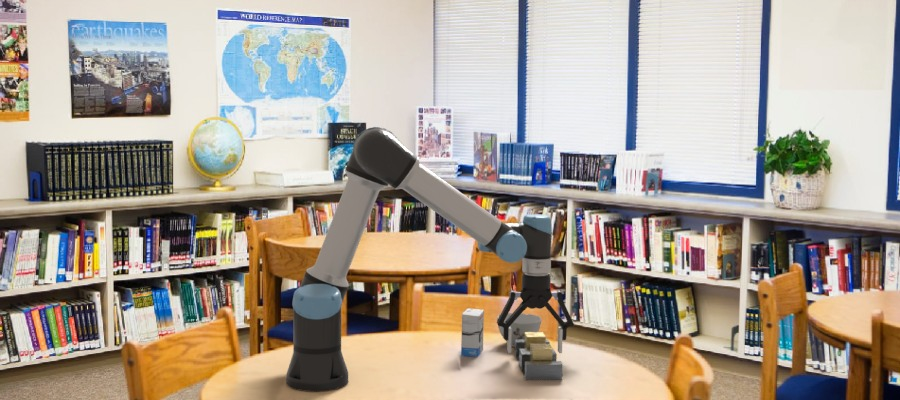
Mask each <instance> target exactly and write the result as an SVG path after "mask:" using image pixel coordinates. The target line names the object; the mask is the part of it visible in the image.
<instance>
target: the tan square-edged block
mask: <svg viewBox="0 0 900 400" xmlns="http://www.w3.org/2000/svg"><path fill="white" fill-rule="evenodd" d="M546 340H547V337H546V335H545V333H544V331H539V332H525V334H524V349H530V344H546Z"/></svg>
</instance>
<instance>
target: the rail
mask: <svg viewBox="0 0 900 400" xmlns="http://www.w3.org/2000/svg"><path fill="white" fill-rule="evenodd" d="M546 344H550V345H551V343H550V340H549V339H546ZM552 349H553V353H552V361H530V349H524V340H515V346H514V355H515V358H516V360H517V363H518V365H519V367H520V369H521V372H522V375H523V376H524V379H525V381H563V363H562V361H560V360H559V361H558V360H557V359H558V357H557V352H556V350H555V349H554V348H552Z"/></svg>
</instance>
